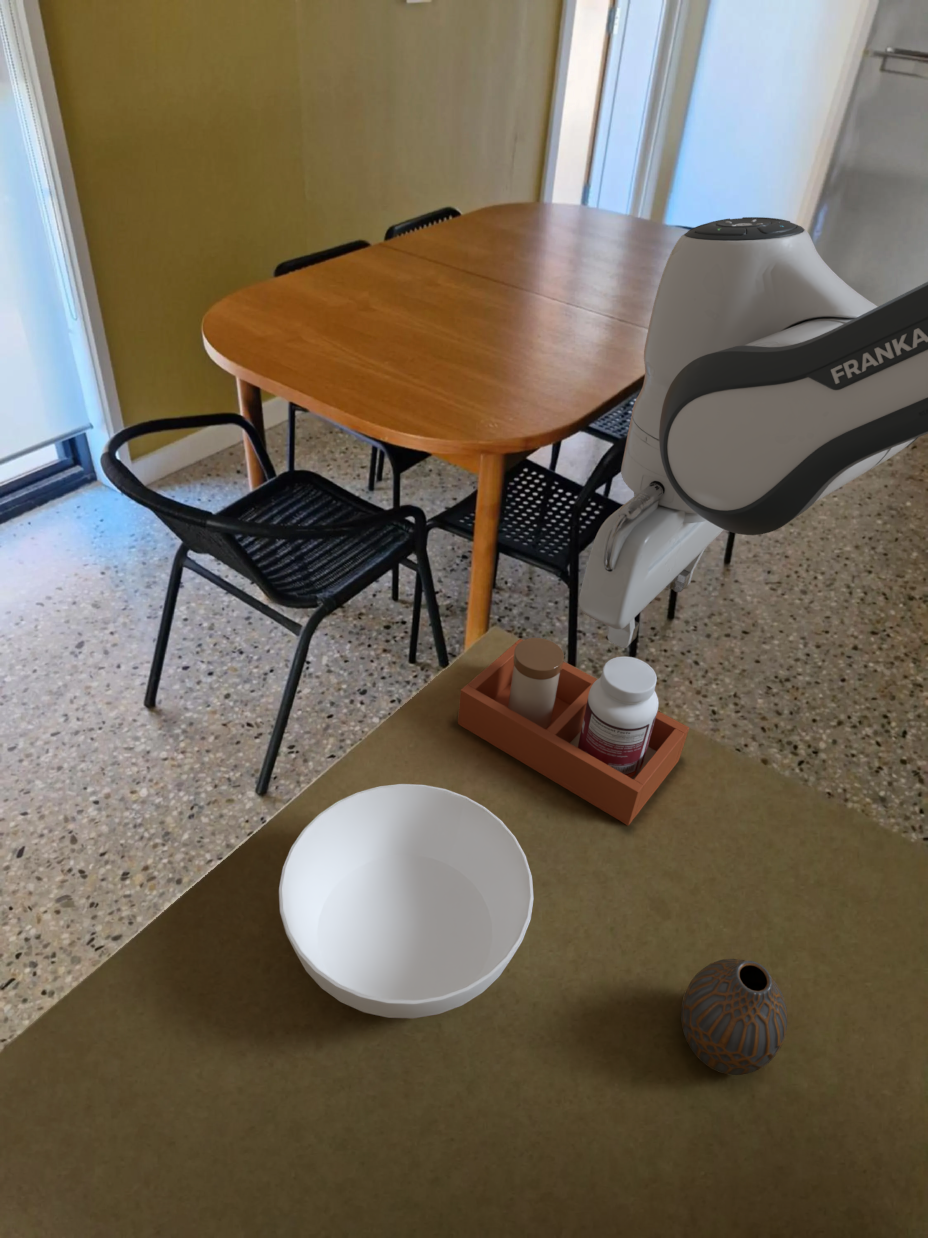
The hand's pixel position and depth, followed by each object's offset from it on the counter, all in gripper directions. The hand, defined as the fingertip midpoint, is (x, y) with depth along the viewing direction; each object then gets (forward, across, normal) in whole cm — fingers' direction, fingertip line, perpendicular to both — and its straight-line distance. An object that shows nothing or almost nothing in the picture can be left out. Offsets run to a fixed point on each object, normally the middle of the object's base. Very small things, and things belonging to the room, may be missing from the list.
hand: (649, 612), depth 72 cm
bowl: (+19, -26, +4) cm, 32 cm away
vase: (+19, -17, -19) cm, 32 cm away
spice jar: (+18, 0, +10) cm, 20 cm away
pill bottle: (+18, 0, 0) cm, 18 cm away
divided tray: (+19, 0, +5) cm, 19 cm away
